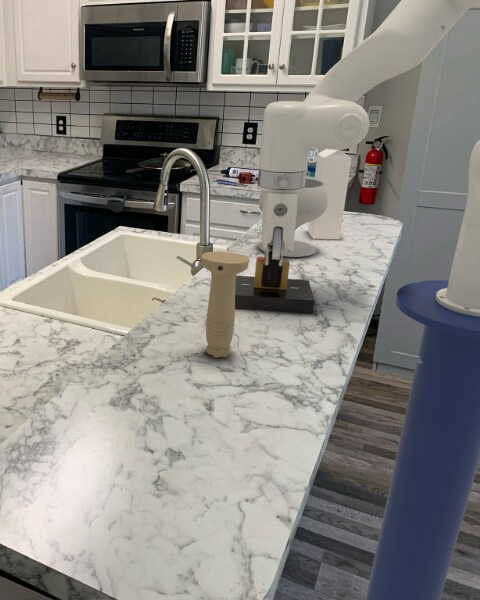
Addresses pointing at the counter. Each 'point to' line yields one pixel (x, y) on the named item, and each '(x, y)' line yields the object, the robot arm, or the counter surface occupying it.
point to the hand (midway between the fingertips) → (270, 283)
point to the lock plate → (274, 296)
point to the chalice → (305, 213)
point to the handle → (222, 299)
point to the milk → (331, 193)
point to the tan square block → (259, 270)
